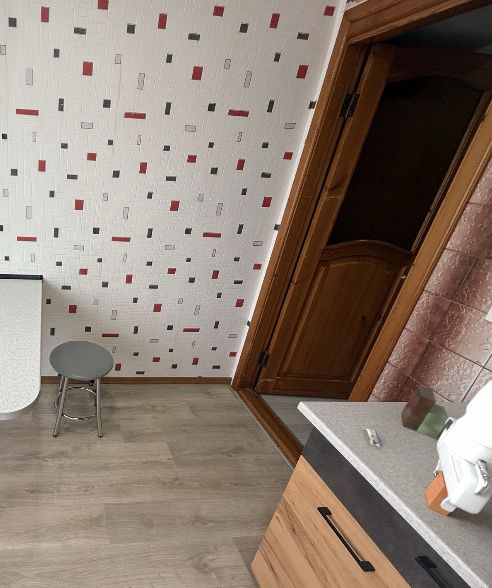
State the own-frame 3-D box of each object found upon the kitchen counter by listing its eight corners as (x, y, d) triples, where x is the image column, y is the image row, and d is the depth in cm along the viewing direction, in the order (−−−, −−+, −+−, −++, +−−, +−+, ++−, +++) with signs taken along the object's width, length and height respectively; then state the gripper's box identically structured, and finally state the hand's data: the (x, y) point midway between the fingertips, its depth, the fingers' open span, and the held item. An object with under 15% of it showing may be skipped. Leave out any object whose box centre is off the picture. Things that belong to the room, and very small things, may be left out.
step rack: (446, 430, 96) (467, 401, 91) (450, 445, 91) (472, 414, 86) (400, 413, 101) (418, 384, 97) (402, 425, 96) (421, 396, 92)
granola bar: (364, 428, 95) (366, 426, 94) (374, 432, 94) (376, 429, 93) (369, 445, 89) (371, 442, 89) (380, 449, 88) (382, 446, 88)
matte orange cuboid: (442, 499, 75) (459, 478, 72) (446, 516, 72) (464, 494, 69) (425, 491, 77) (440, 470, 74) (427, 506, 73) (444, 485, 70)
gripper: (517, 492, 58) (472, 540, 64) (487, 427, 73) (453, 471, 79) (466, 470, 62) (428, 517, 67) (447, 413, 76) (417, 455, 82)
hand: (441, 491), depth 73 cm, fingers open, 8 cm apart
